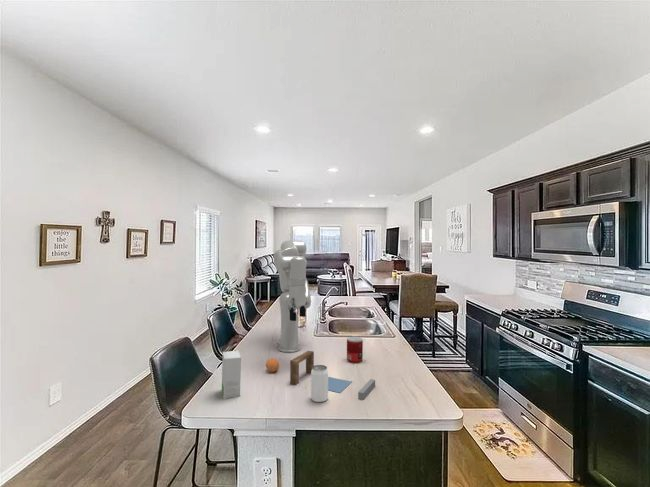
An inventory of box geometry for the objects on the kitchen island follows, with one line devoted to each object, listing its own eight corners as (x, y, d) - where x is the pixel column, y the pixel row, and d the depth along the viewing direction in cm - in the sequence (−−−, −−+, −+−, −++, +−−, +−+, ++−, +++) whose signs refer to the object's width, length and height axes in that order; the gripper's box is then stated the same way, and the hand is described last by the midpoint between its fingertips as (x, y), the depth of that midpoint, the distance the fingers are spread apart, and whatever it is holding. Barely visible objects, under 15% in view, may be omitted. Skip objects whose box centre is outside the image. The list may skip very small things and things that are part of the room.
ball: (263, 372, 156) (263, 359, 156) (271, 368, 161) (271, 355, 161) (274, 374, 153) (274, 361, 153) (281, 370, 159) (281, 357, 159)
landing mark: (313, 387, 141) (313, 386, 141) (326, 376, 151) (326, 376, 151) (340, 393, 135) (340, 392, 135) (351, 382, 146) (351, 381, 146)
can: (310, 395, 133) (310, 364, 133) (327, 394, 134) (327, 364, 134) (311, 403, 127) (311, 370, 127) (328, 402, 127) (328, 370, 127)
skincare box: (221, 390, 137) (221, 351, 137) (238, 387, 140) (238, 349, 140) (223, 399, 130) (223, 358, 129) (241, 396, 132) (241, 356, 132)
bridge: (290, 383, 144) (290, 360, 144) (308, 371, 157) (308, 350, 157) (296, 384, 143) (296, 361, 143) (313, 372, 156) (313, 351, 156)
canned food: (361, 363, 168) (361, 341, 167) (345, 362, 169) (345, 340, 169) (363, 358, 175) (363, 337, 175) (347, 357, 177) (347, 336, 177)
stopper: (358, 398, 130) (358, 392, 130) (370, 384, 143) (370, 378, 143) (363, 399, 130) (363, 393, 130) (375, 385, 142) (375, 379, 142)
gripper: (299, 280, 173) (299, 314, 174) (281, 284, 158) (281, 321, 158) (312, 281, 170) (312, 315, 171) (296, 285, 155) (296, 323, 155)
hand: (297, 318), depth 164 cm, fingers open, 9 cm apart
